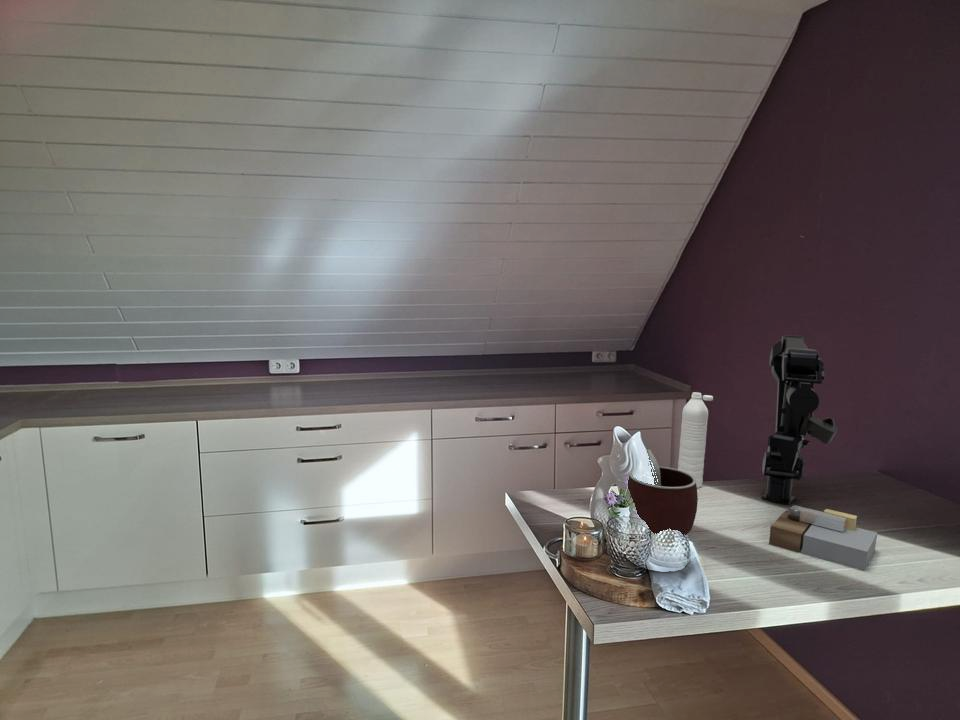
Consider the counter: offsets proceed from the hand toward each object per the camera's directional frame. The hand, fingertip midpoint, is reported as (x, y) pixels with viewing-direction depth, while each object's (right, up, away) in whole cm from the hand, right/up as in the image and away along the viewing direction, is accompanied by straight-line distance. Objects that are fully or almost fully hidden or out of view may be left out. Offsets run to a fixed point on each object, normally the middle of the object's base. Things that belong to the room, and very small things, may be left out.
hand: (789, 470), depth 152 cm
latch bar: (+1, -10, -10) cm, 14 cm away
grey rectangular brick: (+4, -15, -14) cm, 20 cm away
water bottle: (-15, -8, +23) cm, 29 cm away
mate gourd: (-36, -14, -18) cm, 43 cm away
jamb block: (-3, -13, -8) cm, 16 cm away
